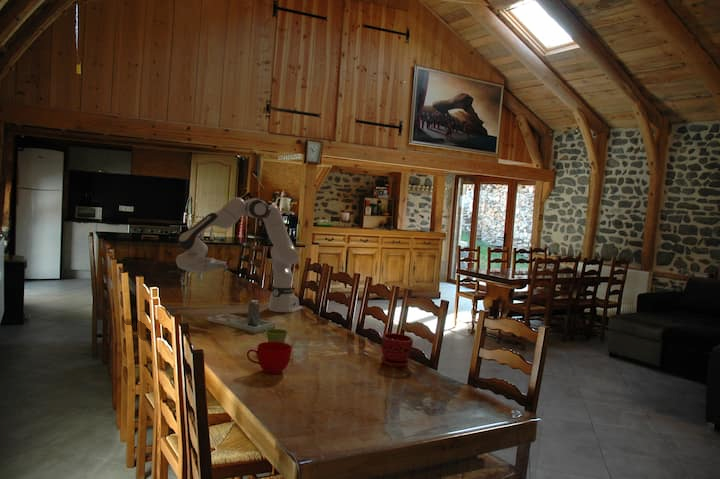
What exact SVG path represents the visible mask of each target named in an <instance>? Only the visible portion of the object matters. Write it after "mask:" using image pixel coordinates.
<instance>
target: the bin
mask: <svg viewBox="0 0 720 479" xmlns="http://www.w3.org/2000/svg"><path fill="white" fill-rule="evenodd" d="M245 318H246V319H242V320H238V321H233V322H230V325H229V327H232V328H236V329H240V330H243V331H244V332H246V333H250V334H253V333H254V335H255V334H260V333H262V332H266V331H267V330H269V329H276V322H274V321H269V320H265V319H260V318H259V322H258V326H257V327H252V326H248V325H247V320H248V317H245Z"/></svg>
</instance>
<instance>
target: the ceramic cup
mask: <svg viewBox="0 0 720 479" xmlns="http://www.w3.org/2000/svg"><path fill="white" fill-rule="evenodd" d="M292 349H293V348H292V345H290V344H289V343H286V342H284V343H281V342H268V341H266V342H264V341H263V342H261V343H258V344H257V350H256V349H255V348H254V349H249V350H248V351H247V352H246V358H247V360H249V362H251V363H253V364H257V365H259V366H260V368H261V369H262V370H263V372H264V371H265V372H266V373H265V372H264V373H265V374H268V373H271V374H270V375H278V374H277V373H279V374H282V372H283V371H285V369H286V368H287V366H288V365H289V362H290V359H291V354H292ZM251 352H254V353H255V354H256V355H257V360H258V361H257V360H253V359H251V357H250V356H249V354H250V353H251Z"/></svg>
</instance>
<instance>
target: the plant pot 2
mask: <svg viewBox="0 0 720 479" xmlns="http://www.w3.org/2000/svg"><path fill="white" fill-rule="evenodd" d="M413 342H414V339H413V338H412V337H411V336H410V335H406V334H404V333H403V334H402V333H396V332H395V333H394V332H388V333H384V334H383V335H382V337H381V353H382V357H381V358H380V359H381V360H380V361H381V362H382V363H383V364H384V365H386V366H389V367H395V368H396V367H397V368H398V367H399V368H401V367H404V366H407V365H408V364H409V360H408V359H409V357H410V355H411V352H412V349H413Z"/></svg>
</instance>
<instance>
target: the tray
mask: <svg viewBox="0 0 720 479" xmlns="http://www.w3.org/2000/svg"><path fill="white" fill-rule="evenodd" d="M246 318H247V317H243V316H240V315H239V316H238V315H234V314H229V313H223V314H222V313H221V314H218V315H213V316H209V317H207V318H206V320H207V322H212V323H215V324H216V323H217V324H220V325H225V326H230V322H233V321H238V320H242V319H246Z"/></svg>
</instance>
